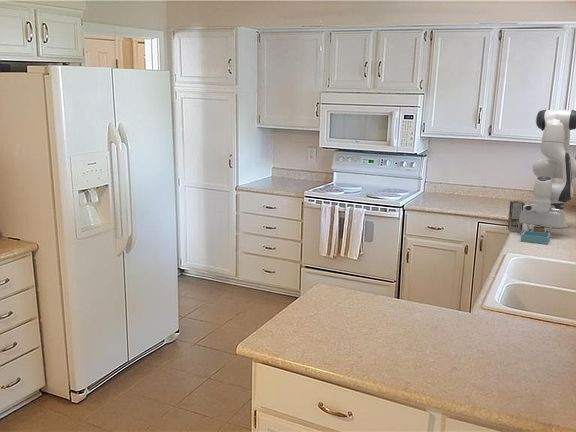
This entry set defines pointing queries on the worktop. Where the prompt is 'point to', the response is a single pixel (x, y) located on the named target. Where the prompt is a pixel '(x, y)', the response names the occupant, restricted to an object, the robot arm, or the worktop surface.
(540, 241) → the tray
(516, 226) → the coffee box
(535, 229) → the walnut block
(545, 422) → the worktop surface
